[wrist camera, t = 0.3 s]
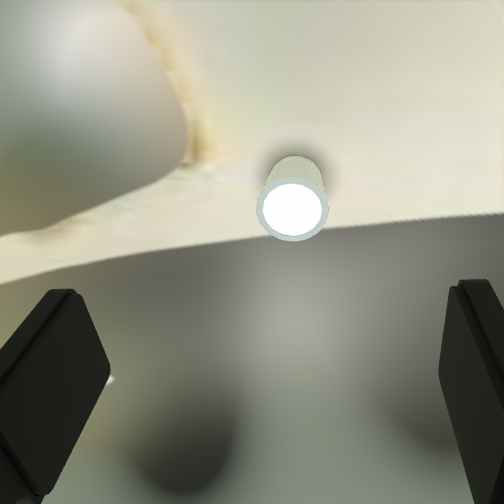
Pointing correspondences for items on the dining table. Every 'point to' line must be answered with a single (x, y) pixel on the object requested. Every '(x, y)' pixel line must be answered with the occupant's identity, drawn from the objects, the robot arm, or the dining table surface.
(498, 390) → the robot arm
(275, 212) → the shot glass
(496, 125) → the dining table surface
